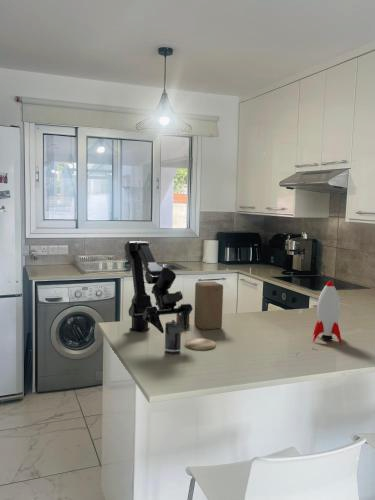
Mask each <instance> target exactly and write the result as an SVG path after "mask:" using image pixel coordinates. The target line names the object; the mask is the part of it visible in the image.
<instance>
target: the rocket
mask: <svg viewBox="0 0 375 500" xmlns="http://www.w3.org/2000/svg"><path fill="white" fill-rule="evenodd" d="M321 290H322V291H321V292H320V293H319V297H318V301H317V305H316V309H317V310H316V311H317V312H316V313H317V319H318V320H317V321H316V324H315V327H314V329H313V333H312V334H313V335H312V336H313V339H312V340H313V341H312V343H314V342H315V341H316V340H317V337H319V335H320V334H321V339H323V340H329V341H330V340H333V339H334V338H333V336H334V335H335V337H336V338H337V340H338V342H339V343H340V345H341V346H342V345H343V344H342V337H341V331H340V327H339V323H338V322H339V318H340V313H341V300H340V297H339V294H338V291H337V289H336V286H335V284H334V283H333V282H332V280H329V281H327V283H326V284H325V286H324V287H323V289H321Z"/></svg>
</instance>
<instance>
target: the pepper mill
mask: <svg viewBox="0 0 375 500" xmlns="http://www.w3.org/2000/svg"><path fill="white" fill-rule="evenodd" d="M164 330H165V331H164V353H165V354H168V355H178V354H180V353H181V345H182V344H181V343H182V342H181V338H182V337H181V336H182V328H181V323H179V322H176V320H175V319H172V320H171V321H168V322H166V323H165V329H164Z"/></svg>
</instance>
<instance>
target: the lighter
mask: <svg viewBox="0 0 375 500" xmlns="http://www.w3.org/2000/svg"><path fill="white" fill-rule="evenodd" d="M180 306H181V305H179V306H177V308H179V307H180ZM175 322H179V323H180V321H179V316H178V313H177V314H176V320H175ZM188 327H190V315H189V316H187V322H186V328H188ZM181 329H183V327H182V325H181Z"/></svg>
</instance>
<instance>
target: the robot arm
mask: <svg viewBox="0 0 375 500" xmlns="http://www.w3.org/2000/svg"><path fill="white" fill-rule="evenodd" d="M124 251H125V254H126V257H127V258H128V260H129V261H130V265H131V272H132V273H131V274H132V282H133V292H134V295H133V297H132V298H131V304H130V307H129V309H128V316H129V317H131V327H129V329H128V330H129V331H135V332H139V333H142V332H144V331H147V330H150V328H151V327H149V323H150V324H151V325H152V326H154V328H156V329H157V330H158V331H159V333H161V334H165V331H164V330H165V329H164V327H163V324H162V321H161V319H160V316H163V315H164V316H165V315H177V313H178V316H179V321H180V323H181V325H182V327H183V328H182V329H183V330H184V331H186V330H187V327H186V322H187V316H189V317H190V314H191V313H192V311H193V305H192V304H191V303H181V304H180V305H179V306H180V307H179V308H178V307H176V306H177V303H178V302H180V301H182V300H183V298H184V297H183V293H182V291H180V290H179V291H176V292H173V293H172V292H171V293H170V291H169V289H170V288H171V287H172V285H173V283H174V282H175V280H176V278H177V275H176V272H174V271H173V270H171V269H170V268H169V267H167V266H164V267H162V266H161V265H159V264H157V262H156V260H155V258H154V255H153V253H152V250H151V248H150V244H149V242H148V241H142V240H128V241H127V242H126V243H125V244H124ZM143 266H144V267H143ZM144 268H145V273H144ZM145 281H146V283H147V284H148V285H153V286H152V287H151V289H152V290H151V294H153V295H154V298H155V306H153V304H152V301H151V298H152V297H151V295H150V294H148V293H147V292H146V285H145ZM157 307H158V308H157ZM175 307H176V308H175Z"/></svg>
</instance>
